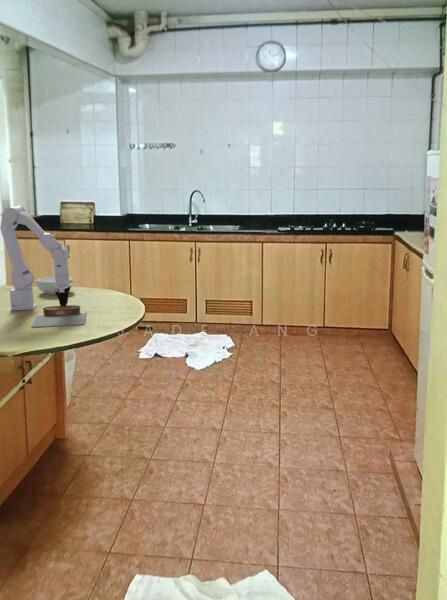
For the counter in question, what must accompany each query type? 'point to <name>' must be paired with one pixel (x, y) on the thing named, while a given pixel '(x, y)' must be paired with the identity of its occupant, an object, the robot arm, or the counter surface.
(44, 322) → the mat
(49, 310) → the tin
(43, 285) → the cereal bowl
